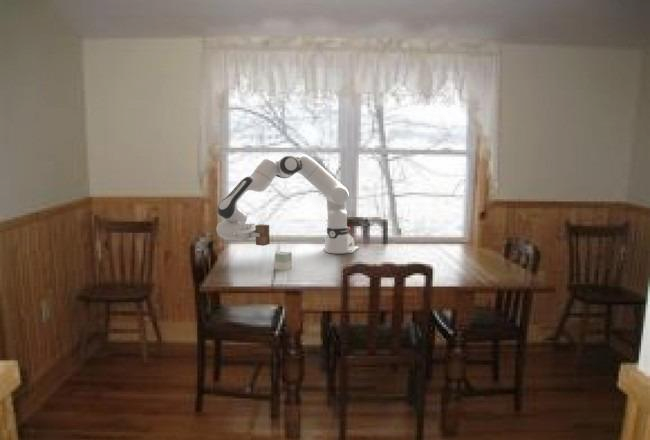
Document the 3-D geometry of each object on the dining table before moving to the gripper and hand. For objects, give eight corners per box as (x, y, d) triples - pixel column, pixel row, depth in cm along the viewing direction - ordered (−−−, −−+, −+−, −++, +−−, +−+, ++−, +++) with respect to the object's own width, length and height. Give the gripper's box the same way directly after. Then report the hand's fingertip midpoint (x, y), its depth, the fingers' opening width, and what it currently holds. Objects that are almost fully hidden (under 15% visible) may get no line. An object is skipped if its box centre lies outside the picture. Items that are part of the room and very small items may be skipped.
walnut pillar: (261, 243, 284) (261, 224, 283) (269, 244, 282) (269, 224, 280) (255, 244, 280) (255, 225, 278) (263, 245, 277) (263, 226, 276)
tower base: (282, 266, 280) (282, 259, 279) (291, 268, 277) (291, 260, 276) (275, 269, 275) (275, 261, 274) (285, 270, 272) (285, 262, 271)
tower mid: (281, 259, 279) (281, 251, 279) (291, 260, 276) (291, 252, 276) (275, 261, 274) (274, 253, 273) (285, 262, 271) (284, 254, 270)
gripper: (229, 228, 277) (251, 230, 270) (254, 223, 295) (275, 225, 288) (229, 241, 278) (251, 243, 271) (254, 234, 295) (275, 236, 289)
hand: (263, 233), depth 279 cm, fingers closed on walnut pillar, 5 cm apart
